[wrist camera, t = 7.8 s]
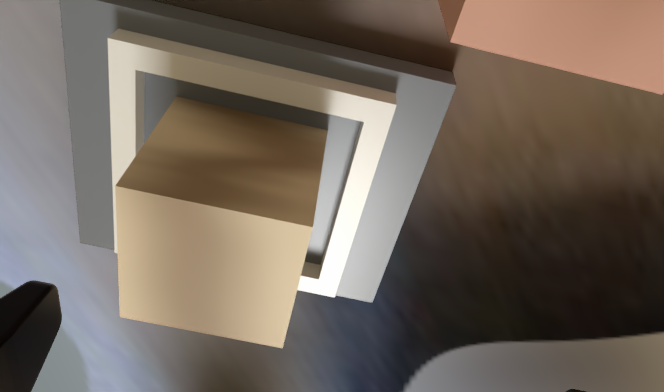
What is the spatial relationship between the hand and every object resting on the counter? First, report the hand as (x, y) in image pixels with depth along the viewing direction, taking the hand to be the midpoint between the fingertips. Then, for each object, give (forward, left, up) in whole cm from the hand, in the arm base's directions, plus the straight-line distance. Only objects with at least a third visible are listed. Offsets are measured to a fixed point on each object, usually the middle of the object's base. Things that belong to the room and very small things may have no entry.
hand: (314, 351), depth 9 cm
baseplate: (+3, +4, -11) cm, 12 cm away
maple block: (+3, +4, -10) cm, 11 cm away
